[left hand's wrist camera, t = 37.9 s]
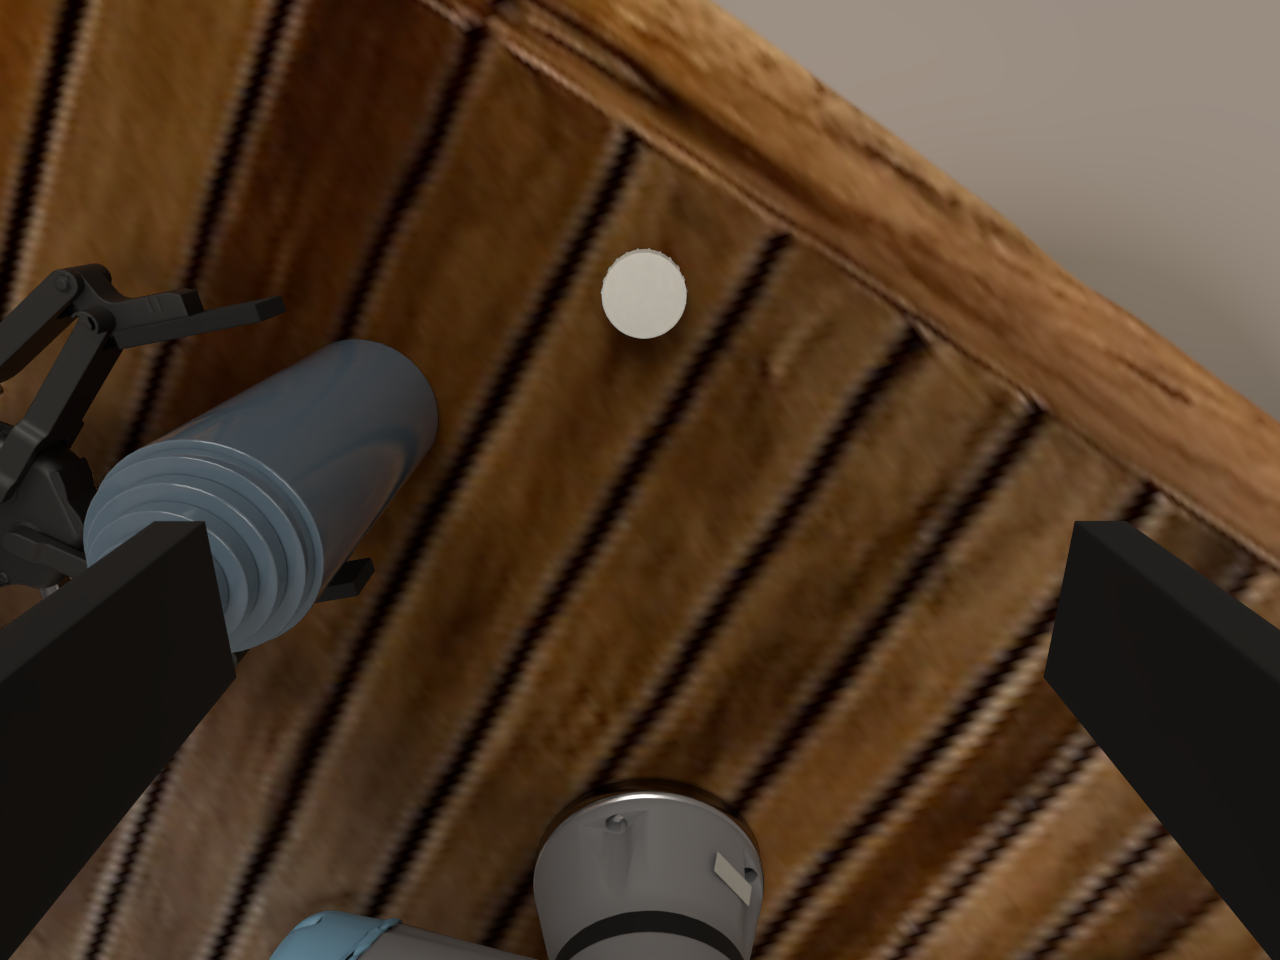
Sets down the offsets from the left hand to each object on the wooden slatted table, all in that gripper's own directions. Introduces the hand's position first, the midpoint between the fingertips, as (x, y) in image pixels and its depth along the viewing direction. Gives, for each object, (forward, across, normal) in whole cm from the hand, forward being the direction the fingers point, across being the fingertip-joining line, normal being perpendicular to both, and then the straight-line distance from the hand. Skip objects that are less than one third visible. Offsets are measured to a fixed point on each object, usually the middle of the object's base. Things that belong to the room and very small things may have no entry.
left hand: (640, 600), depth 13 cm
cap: (+30, 0, -1) cm, 30 cm away
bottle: (+32, +15, +6) cm, 36 cm away
